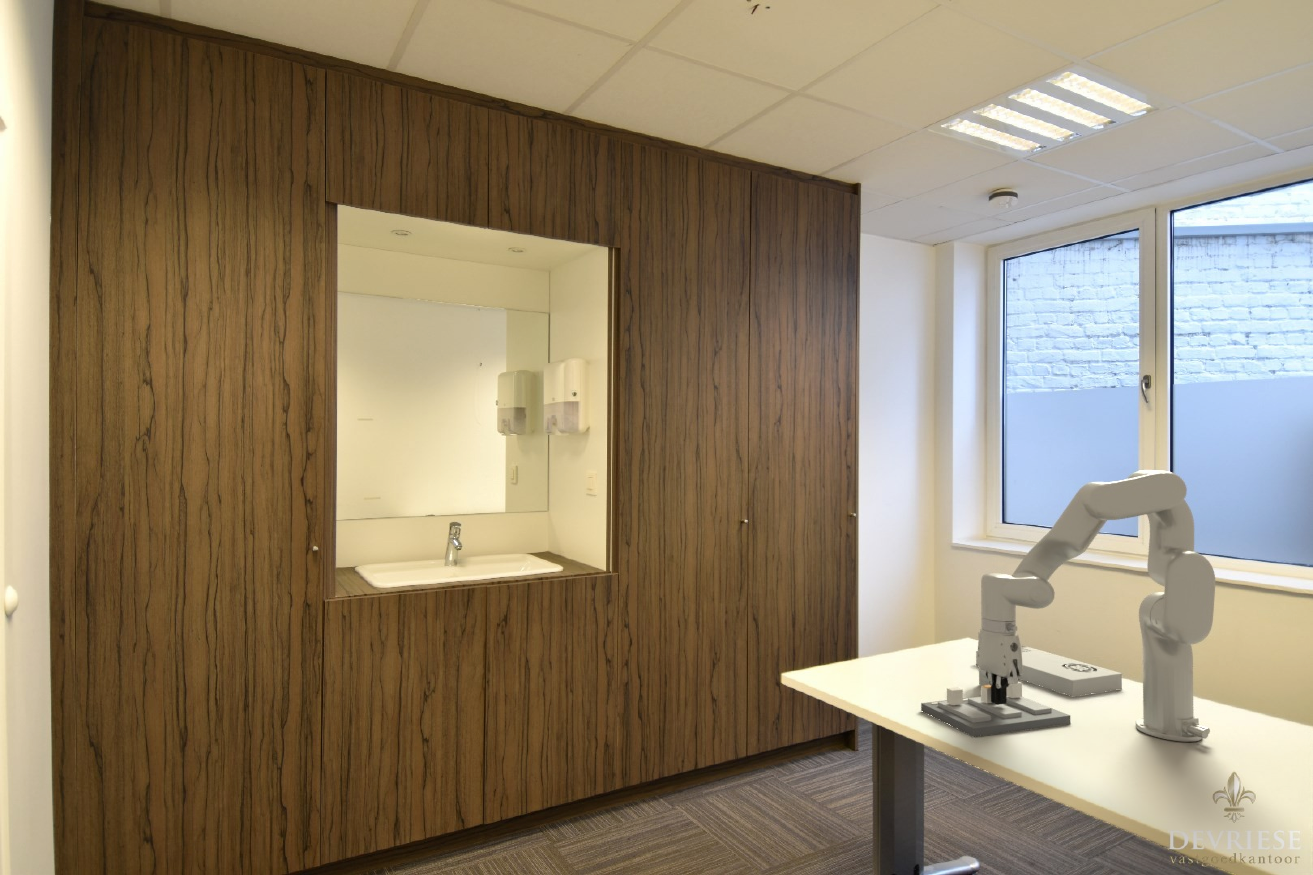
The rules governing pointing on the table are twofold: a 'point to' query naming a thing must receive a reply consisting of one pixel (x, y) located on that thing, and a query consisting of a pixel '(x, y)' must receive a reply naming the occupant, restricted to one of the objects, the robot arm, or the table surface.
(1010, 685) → the block
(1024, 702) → the breaker panel
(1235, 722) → the table surface
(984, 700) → the block
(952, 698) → the breaker
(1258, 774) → the table surface
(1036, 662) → the power supply unit
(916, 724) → the table surface
